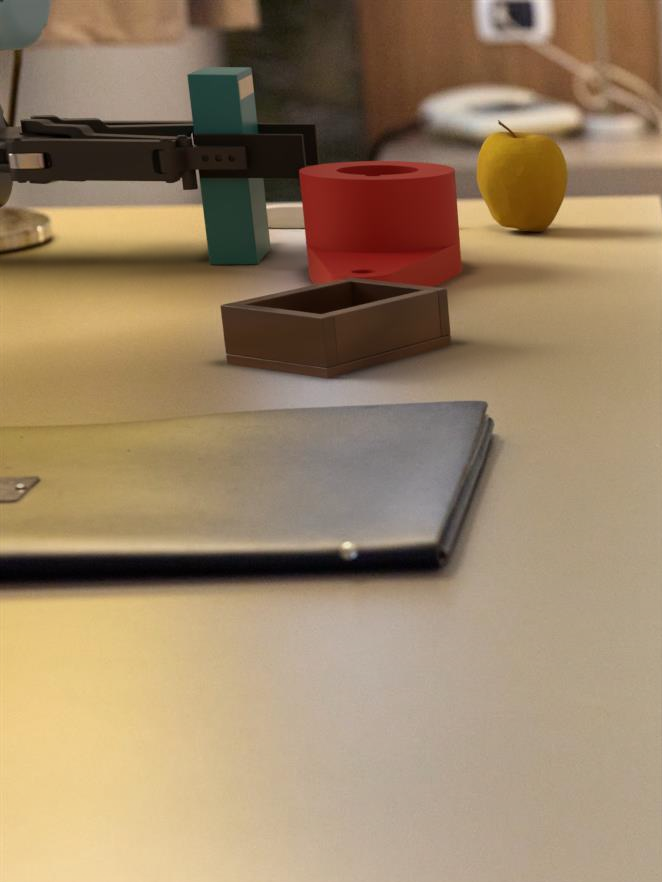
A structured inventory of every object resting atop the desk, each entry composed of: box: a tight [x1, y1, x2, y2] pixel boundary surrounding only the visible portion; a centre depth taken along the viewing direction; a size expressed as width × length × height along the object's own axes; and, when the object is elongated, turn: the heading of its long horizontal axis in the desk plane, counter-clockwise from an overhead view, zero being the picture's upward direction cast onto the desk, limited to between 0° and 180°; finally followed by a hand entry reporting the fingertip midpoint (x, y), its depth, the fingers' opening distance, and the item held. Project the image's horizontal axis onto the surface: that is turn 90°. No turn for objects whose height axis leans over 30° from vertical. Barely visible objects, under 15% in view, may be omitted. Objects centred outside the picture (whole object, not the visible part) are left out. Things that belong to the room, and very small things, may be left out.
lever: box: [299, 160, 463, 287], centre depth 121 cm, size 18×9×7 cm, turn 10°
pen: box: [266, 203, 305, 229], centre depth 143 cm, size 2×14×2 cm, turn 97°
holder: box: [220, 277, 452, 380], centre depth 102 cm, size 10×7×3 cm
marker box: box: [186, 66, 272, 266], centre depth 129 cm, size 6×3×12 cm, turn 11°
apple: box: [476, 119, 568, 233], centre depth 142 cm, size 6×6×8 cm
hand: (310, 150), depth 129 cm, fingers closed on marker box, 6 cm apart
